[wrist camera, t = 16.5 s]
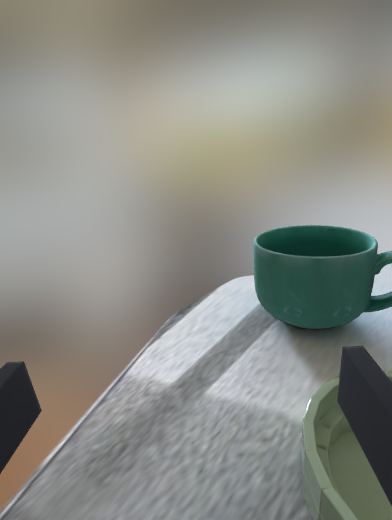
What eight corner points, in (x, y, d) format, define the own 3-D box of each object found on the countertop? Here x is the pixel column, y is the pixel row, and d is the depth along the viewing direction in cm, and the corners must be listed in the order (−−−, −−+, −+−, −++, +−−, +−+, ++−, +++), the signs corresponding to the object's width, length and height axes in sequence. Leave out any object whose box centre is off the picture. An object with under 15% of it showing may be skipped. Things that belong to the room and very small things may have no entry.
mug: (235, 321, 35) (231, 246, 31) (280, 283, 43) (281, 221, 40) (402, 378, 24) (423, 275, 21) (416, 312, 33) (432, 233, 30)
